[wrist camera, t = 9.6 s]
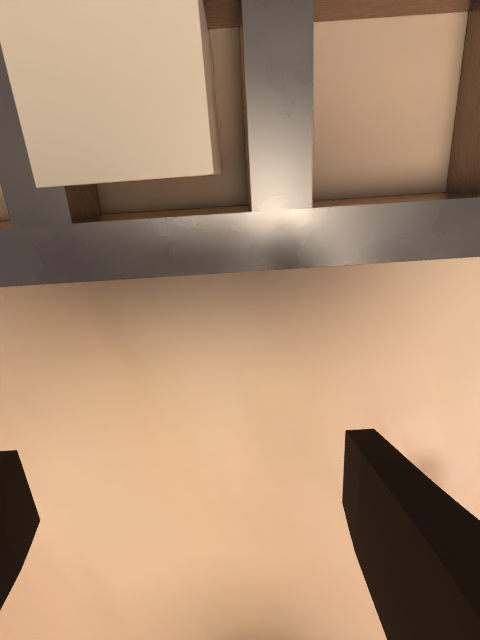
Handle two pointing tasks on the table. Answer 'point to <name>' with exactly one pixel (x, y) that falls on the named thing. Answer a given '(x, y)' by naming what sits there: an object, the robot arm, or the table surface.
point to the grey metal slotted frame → (251, 176)
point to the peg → (112, 89)
